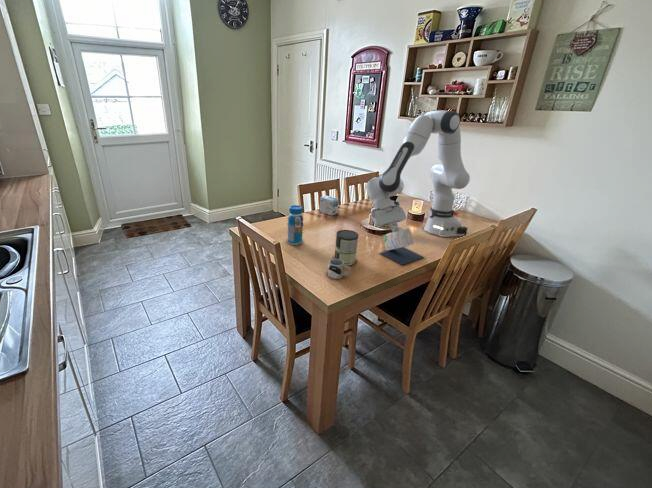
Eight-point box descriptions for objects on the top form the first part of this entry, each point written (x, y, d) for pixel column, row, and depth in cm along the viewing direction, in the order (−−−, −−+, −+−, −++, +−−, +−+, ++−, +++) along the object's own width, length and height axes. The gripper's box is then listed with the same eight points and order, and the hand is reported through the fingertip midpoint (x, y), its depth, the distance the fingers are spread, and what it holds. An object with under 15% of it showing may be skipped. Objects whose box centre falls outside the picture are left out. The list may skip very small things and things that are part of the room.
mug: (326, 277, 145) (327, 264, 142) (329, 270, 150) (331, 257, 148) (348, 281, 141) (350, 268, 139) (351, 274, 147) (353, 261, 144)
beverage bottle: (284, 243, 175) (285, 208, 167) (290, 237, 183) (291, 203, 174) (299, 246, 173) (301, 210, 165) (304, 240, 180) (306, 205, 172)
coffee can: (329, 259, 160) (332, 233, 154) (342, 253, 166) (345, 227, 161) (347, 267, 153) (350, 240, 147) (359, 260, 160) (362, 234, 154)
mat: (380, 253, 167) (380, 253, 167) (401, 247, 175) (401, 246, 175) (402, 265, 156) (402, 264, 156) (423, 257, 164) (423, 257, 164)
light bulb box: (337, 213, 221) (339, 198, 216) (331, 216, 216) (333, 200, 212) (325, 209, 227) (326, 194, 223) (319, 212, 223) (320, 196, 219)
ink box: (381, 235, 171) (402, 229, 158) (388, 233, 173) (409, 227, 160) (386, 251, 170) (407, 246, 157) (393, 249, 172) (414, 244, 159)
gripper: (373, 207, 161) (385, 232, 158) (401, 201, 171) (413, 224, 168) (365, 212, 166) (377, 237, 163) (393, 207, 177) (404, 230, 173)
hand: (395, 231), depth 165 cm, fingers closed, pressing on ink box
